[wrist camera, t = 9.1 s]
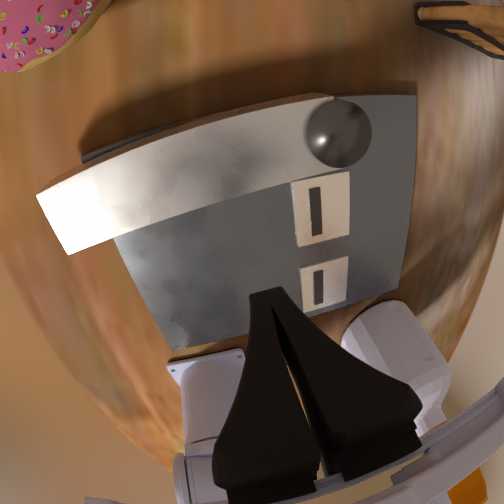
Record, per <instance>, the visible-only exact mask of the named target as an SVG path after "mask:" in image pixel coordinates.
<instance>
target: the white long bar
mask: <svg viewBox="0 0 504 504" xmlns="http://www.w3.org/2000/svg"><path fill="white" fill-rule="evenodd" d="M371 138H372V127H371V123H370V120H369V118H368V116H367V114H366V113H365V111H364V110H363V109H362V108H361V107H359V106H358V105H356V104H354V103H352V102H349V101H345V100H341V99H337V98H334V97H333V96H330V95H326V94H321V93H316V92H313V93H307V94H301V95H296V96H290V97H285V98H280V99H275V100H270V101H266V102H261V103H257V104H253V105H248V106H244V107H240V108H236V109H233V110H229V111H225V112H221V113H218V114H214V115H211V116H207V117H204V118H201V119H197V120H194V121H191V122H188V123H185V124H182V125H179V126H176V127H173V128H170V129H167V130H164V131H161V132H158V133H156V134H153V135H150V136H148V137H145V138H142V139H140V140H137V141H135V142H132V143H130V144H127V145H125V146H122V147H120V148H117V149H115V150H113V151H110V152H108V153H106V154H103V155H101V156H99V157H97V158H95V159H92V160H90V161H88V162H86V163H84V164H82V165H80V166H78V167H76V168H74V169H72V170H70V171H68V172H66V173H64V174H62V175H60V176H58V177H56V178H54V179H52V180H51V181H50V182H49V183H48V184H47V185H46V186H45V187H44V188H43V189H42V190H41V191H40V192H39V193H38V194H37V195H36V197H37V199H38V201H39V203H40V205H41V207H42V209H43V211H44V213H45V214H46V216H47V218H48V220H49V222H50V224H51V226H52V227H53V229H54V231H55V233H56V235H57V236H58V238H59V240H60V241H61V243H62V245H63V247H64V248H65V250H66V252H67V253H68V255H69V254H72V253H74V252H77V251H79V250H82V249H84V248H87V247H90V246H92V245H95V244H97V243H100V242H103V241H105V240H108V239H111V238H113V237H116V236H119V235H122V234H124V233H127V232H130V231H133V230H136V229H138V228H141V227H144V226H147V225H150V224H153V223H156V222H159V221H162V220H165V219H168V218H171V217H174V216H177V215H180V214H183V213H186V212H189V211H192V210H195V209H198V208H201V207H205V206H208V205H211V204H214V203H217V202H221V201H224V200H227V199H231V198H234V197H237V196H241V195H244V194H248V193H251V192H255V191H258V190H262V189H265V188H269V187H272V186H276V185H280V184H283V183H287V182H291V181H294V180H298V179H302V178H306V177H310V176H314V175H318V174H322V173H326V172H330V171H334V170H338V169H342V168H345V167H349V166H351V165H353V164H355V163H357V162H358V161H359V160H360V159H361V158H362V157H363V156H364V155H365V153H366V152H367V150H368V148H369V146H370V143H371Z"/></svg>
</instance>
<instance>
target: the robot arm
mask: <svg viewBox="0 0 504 504" xmlns="http://www.w3.org/2000/svg"><path fill="white" fill-rule="evenodd" d="M249 302H250V328H249V339H248V346H247V352H246V358H245V355H244V352H243V350H242V349H241V348H237V349H232V350H228V351H224V352H219V353H215V354H210V355H206V356H201V357H196V358H191V359H186V360H181V361H176V362H170V363H167V365H166V368H167V370H168V371H169V372H170V374H171V375H172V377H173V378H174V379H175V381H176V382H177V383H178V385H179V386H180V387H181V401H182V414H183V426H184V437H185V445H184V446H185V456H184V454H183V453H177V456H175V457H174V458H173V476H174V484H175V492H176V498H177V503H178V504H295V503H299V502H303V501H306V500H310V499H313V498H317V497H320V496H323V495H327V494H330V493H333V492H336V491H338V490H341V489H344V488H347V487H350V486H352V485H355V484H357V483H360V482H363V481H365V480H367V479H370V478H372V477H375V476H377V475H379V474H381V473H384V472H385V471H388V470H390V469H392V468H394V467H396V466H399V465H401V464H402V463H404V462H407V461H408V460H410V459H412V458H414V457H416V456H418V455H420V454H421V453H423V452H424V454H423V457H421V458H419V459H418V460H416V461H414V462H412V463H411V464H409V465H407V466H405V467H403V468H402V469H401V470H400V471H398V472H397V473H395V474H393V475H391V481H392V483H393V487H391V488H388V489H386V490H384V491H382V492H379V493H377V494H375V495H373V496H370V497H368V498H365V499H363V500H360V501H357V502H355V503H352V504H452V503H451V501H450V498H449V496H448V494H447V491H448V490H449V489H450V488H452V487H453V486H455V485H456V484H457V483H459V482H460V481H461V480H463V479H464V478H465V477H467V476H468V475H469V474H470V473H472V472H473V471H474V470H475V469H477V468H478V467H479V466H480V465H481V464H482V463H484V462H485V461H486V460H487V459H488V458H489V457H491V456H492V455H493V454H494V453H495V452H496V451H497V450H498V449H499V448H500V447H501V446H502V445H504V377H503V379H501V381H500V382H499V383H498V384H497V385H496V386H495V388H494V389H493V390H491V391H490V392H489V393H487V394H486V395H485V396H483V397H482V398H481V399H479V400H478V401H477V402H475V403H474V404H472V405H471V406H469V407H468V408H467V409H465V410H464V411H462V412H461V413H459V414H458V415H456V416H455V417H453V418H452V419H450V420H448V421H447V422H445V423H443V424H442V425H440V426H439V427H437V428H435V429H433V430H432V431H430V432H428V433H426V434H425V435H423V436H421V437H418V435H417V433H416V431H415V430H416V429H417V426H416V424H415V422H414V419H415V418H416V417H417V416H418V414H419V413H420V412H421V410H422V408H423V404H422V402H421V400H420V399H419V397H418V395H417V394H416V393H415V391H414V390H413V389H412V388H411V387H410V385H409V384H407V383H404V382H402V381H400V380H397V379H395V378H393V377H391V376H389V375H387V374H385V373H383V372H381V371H379V370H377V369H375V368H373V367H372V366H370V365H368V364H367V363H365V362H363V361H362V360H360V359H358V358H357V357H355V356H354V355H352V354H351V353H349V352H348V351H346V350H345V349H344V348H342V347H341V346H340V345H338V344H337V343H336V342H334V341H333V340H332V339H331V338H330V337H328V336H327V335H326V334H325V333H324V332H323V331H322V330H320V329H319V328H318V327H317V326H316V325H315V324H314V323H313V322H312V321H311V320H310V319H309V318H308V317H307V316H306V315H305V314H304V313H303V312H302V311H301V310H300V309H299V308H298V306H297V305H296V304H295V303H294V302H293V300H292V299H291V298H290V297H289V295H288V294H287V293H286V291H285V290H284V288H283V287H281V286H278V287H275V288H271V289H267V290H264V291H260V292H256V293H252V294H250V295H249ZM282 353H283V354H282ZM283 356H284V357H283ZM284 358H285V360H286V363H287V365H288V367H289V369H290V372H291V374H292V376H293V379H294V381H295V383H296V386H297V388H298V391H299V393H300V396H301V400H302V403H303V406H304V409H305V412H306V415H307V418H306V416H305V413H304V411H303V408H302V406H301V403H300V401H299V398H298V395H297V393H296V390H295V387H294V385H293V382H292V379H291V377H290V374H289V371H288V368H287V366H286V363H285V360H284ZM307 419H308V421H307ZM308 422H309V423H308ZM309 425H310V426H309ZM320 462H321V465H322V469H323V472H324V475H325V478H323V479H320V480H317V471H318V470H319V464H320ZM314 480H317V481H314ZM84 504H123V503H119V502H116V501H112V500H107V499H99V498H91V497H84Z"/></svg>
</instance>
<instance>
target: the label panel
mask: <svg viewBox="0 0 504 504" xmlns="http://www.w3.org/2000/svg"><path fill="white" fill-rule="evenodd" d="M330 96H333V97H334V98H337V99H341V100H345V101H349V102H352V103H354V104H356V105H358V106H359V107H361V108H362V109H363V110H364V111H365V113H366V114H367V116H368V118H369V120H370V123H371V127H372V138H371V143H370V146H369V148H368V150H367V152H366V153H365V155H364V156H363V157H362V158H361V159H360V160H359V161H358V162H357V163H355V164H353V165H351V166H349V167H345V168H342V169H338V170H334V171H330V172H326V173H322V174H318V175H314V176H310V177H306V178H302V179H298V180H294V181H291V182H287V183H283V184H280V185H276V186H272V187H269V188H265V189H262V190H258V191H255V192H251V193H248V194H244V195H241V196H237V197H234V198H231V199H227V200H224V201H221V202H217V203H214V204H211V205H208V206H205V207H201V208H198V209H195V210H192V211H189V212H186V213H183V214H180V215H177V216H174V217H171V218H168V219H165V220H162V221H159V222H156V223H153V224H150V225H147V226H144V227H141V228H138V229H136V230H133V231H130V232H127V233H124V234H122V235H119V236H116V237H113V239H114V241H115V243H116V245H117V247H118V250H119V252H120V254H121V256H122V258H123V260H124V262H125V264H126V266H127V268H128V270H129V272H130V274H131V276H132V278H133V280H134V282H135V284H136V286H137V288H138V290H139V292H140V294H141V296H142V297H143V299H144V301H145V303H146V305H147V307H148V309H149V310H150V312H151V314H152V316H153V317H154V319H155V321H156V323H157V325H158V326H159V328H160V330H161V331H162V333H163V335H164V337H165V338H166V340H167V342H168V343H169V345H170V347H171V348H172V350H178V349H183V348H188V347H193V346H197V345H202V344H207V343H211V342H216V341H220V340H224V339H229V338H233V337H237V336H241V335H245V334H249V328H250V302H249V295H250V294H252V293H256V292H260V291H264V290H267V289H271V288H275V287H278V286H281V287H283V288H284V290H285V291H286V293H287V294H288V295H289V297H290V298H291V299H292V300H293V302H294V303H295V304H296V305H297V306H298V308H299V309H300V310H301V311H302V312H303V313H304V314H305V315H306V316H307V317H312V316H315V315H318V314H322V313H325V312H328V311H331V310H335V309H338V308H341V307H344V306H347V305H350V304H353V303H356V302H359V301H362V300H365V299H368V298H371V297H374V296H377V295H380V294H383V293H386V292H389V291H391V290H394V289H397V288H398V284H399V280H400V275H401V270H402V265H403V260H404V254H405V248H406V242H407V236H408V229H409V222H410V215H411V207H412V198H413V188H414V176H415V161H416V139H417V97H416V95H413V94H409V93H356V94H338V95H330ZM239 108H240V107H239ZM234 109H236V108H234ZM229 110H233V109H229ZM229 110H224V111H219V112H215V113H210V114H206V115H202V116H198V117H193V118H189V119H186V120H182V121H178V122H174V123H171V124H167V125H164V126H160V127H157V128H153V129H150V130H147V131H144V132H141V133H137V134H134V135H131V136H128V137H125V138H123V139H120V140H117V141H114V142H111V143H108V144H106V145H103V146H100V147H98V148H95V149H93V150H90V151H88V152H86V153H85V154H84V155H83V156H81V159H82V162H83V164H84V163H86V162H88V161H90V160H92V159H95V158H97V157H99V156H101V155H103V154H106V153H108V152H110V151H113V150H115V149H117V148H120V147H122V146H125V145H127V144H130V143H132V142H135V141H137V140H140V139H142V138H145V137H148V136H150V135H153V134H156V133H158V132H161V131H164V130H167V129H170V128H173V127H176V126H179V125H182V124H185V123H188V122H191V121H194V120H197V119H201V118H204V117H207V116H211V115H214V114H218V113H221V112H225V111H229Z"/></svg>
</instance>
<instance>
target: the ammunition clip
mask: <svg viewBox="0 0 504 504" xmlns="http://www.w3.org/2000/svg"><path fill="white" fill-rule="evenodd" d="M415 15H416V23H417V25H420V26H423V27H426V28H428V29H431V30H434V31H436V32H439V33H441V34H444V35H446V36H448V37H451V38H453V39H455V40H457V41H460V42H462V43H464V44H466V45H468V46H470V47H472V48H474V49H476V50H478V51H480V52H482V53H484V54H486V55H488V56H490V57H491V58H497V59H501V60H504V8H502V7H498V6H486V5H471V4H469V3H467V2H466V1H442V2H426V3H415Z"/></svg>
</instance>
